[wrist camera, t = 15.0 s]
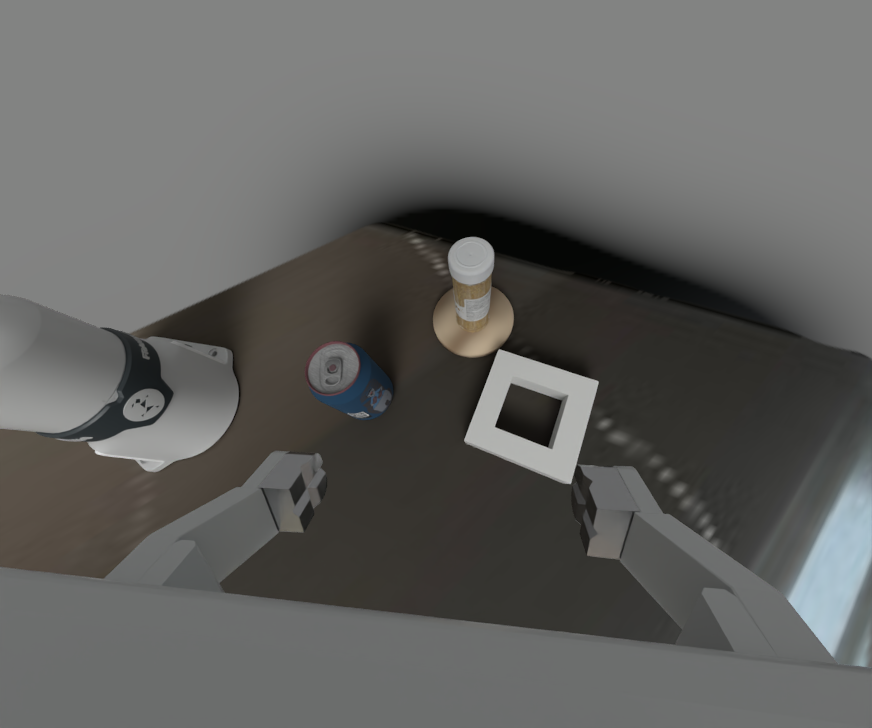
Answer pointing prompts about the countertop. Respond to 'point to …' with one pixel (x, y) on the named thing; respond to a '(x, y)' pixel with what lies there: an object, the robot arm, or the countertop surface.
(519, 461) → the collar
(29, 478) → the countertop surface
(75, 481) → the countertop surface
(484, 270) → the sprinkles bottle
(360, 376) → the soda can
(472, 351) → the disc
